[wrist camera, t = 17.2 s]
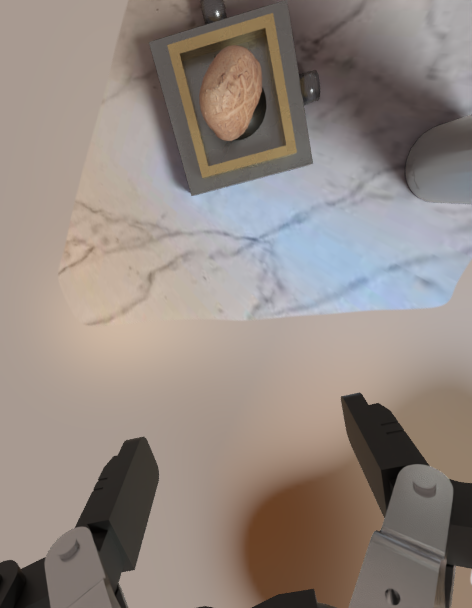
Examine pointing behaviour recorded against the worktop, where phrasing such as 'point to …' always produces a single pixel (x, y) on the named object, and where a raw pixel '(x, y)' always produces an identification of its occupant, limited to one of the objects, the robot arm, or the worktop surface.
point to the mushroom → (231, 92)
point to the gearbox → (268, 113)
